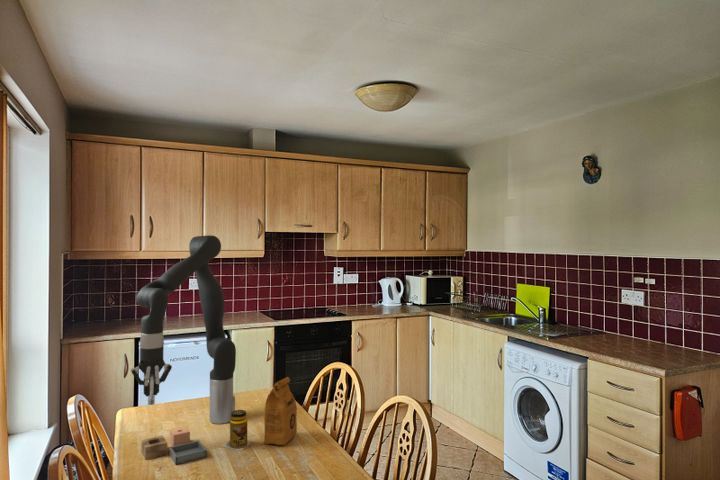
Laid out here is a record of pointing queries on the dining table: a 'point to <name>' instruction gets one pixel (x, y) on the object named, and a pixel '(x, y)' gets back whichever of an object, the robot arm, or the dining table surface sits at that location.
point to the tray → (187, 452)
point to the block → (179, 436)
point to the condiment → (238, 431)
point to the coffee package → (280, 414)
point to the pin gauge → (151, 390)
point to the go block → (154, 447)
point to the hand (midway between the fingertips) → (151, 395)
